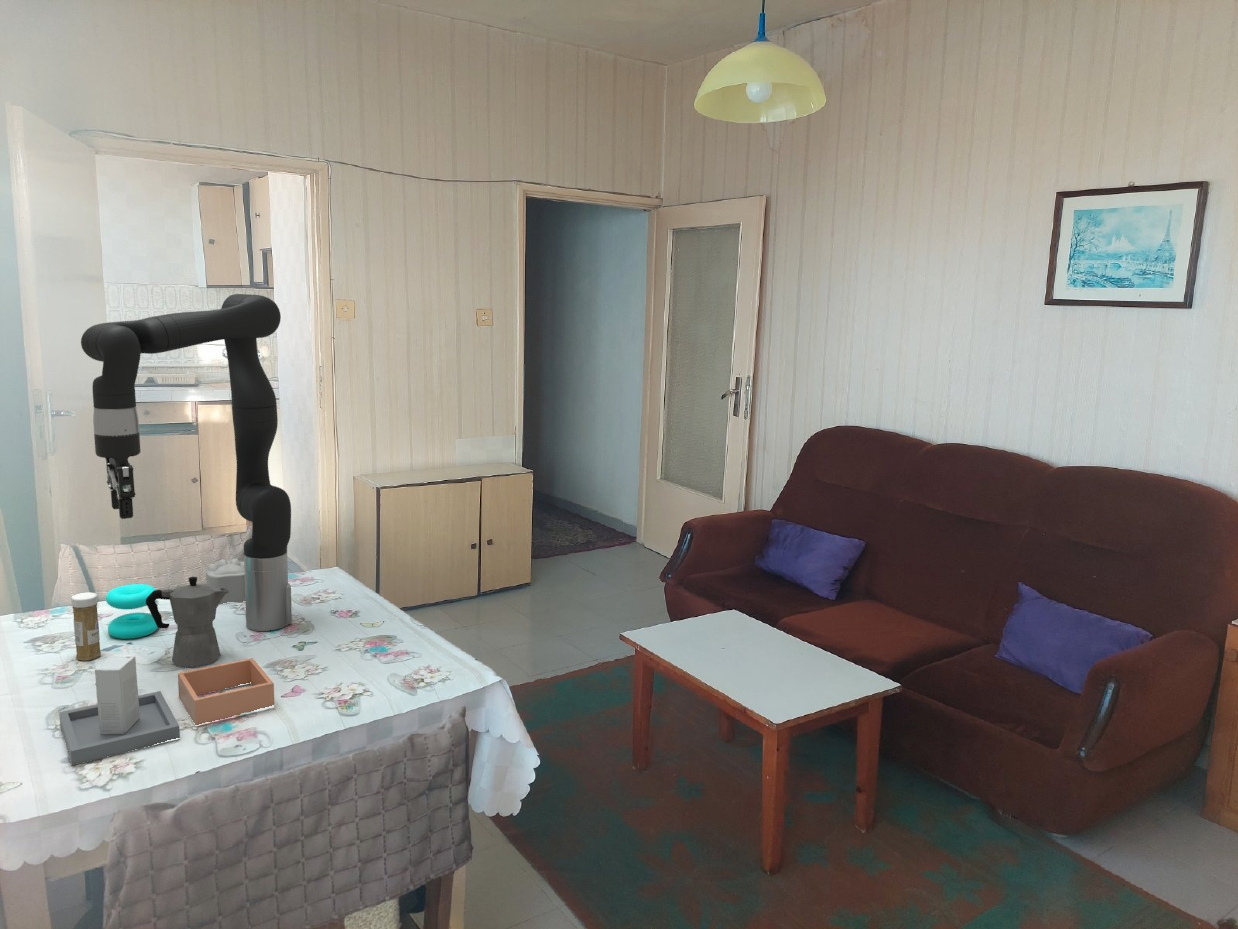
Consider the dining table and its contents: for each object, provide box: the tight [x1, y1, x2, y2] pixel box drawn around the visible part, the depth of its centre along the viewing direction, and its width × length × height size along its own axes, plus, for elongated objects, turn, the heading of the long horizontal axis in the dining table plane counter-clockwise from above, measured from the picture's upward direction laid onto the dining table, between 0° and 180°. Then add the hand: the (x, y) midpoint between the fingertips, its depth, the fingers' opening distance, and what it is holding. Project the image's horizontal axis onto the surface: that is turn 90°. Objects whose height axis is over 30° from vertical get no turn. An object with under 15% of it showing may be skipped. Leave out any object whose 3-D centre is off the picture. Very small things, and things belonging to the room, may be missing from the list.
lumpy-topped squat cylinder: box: [205, 557, 245, 605], centre depth 222 cm, size 10×13×9 cm
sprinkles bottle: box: [71, 592, 102, 662], centre depth 182 cm, size 5×5×14 cm
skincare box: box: [94, 655, 140, 734], centre depth 152 cm, size 6×4×12 cm
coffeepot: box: [146, 576, 229, 669], centre depth 182 cm, size 15×9×18 cm, turn 110°
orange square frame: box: [177, 657, 275, 726], centre depth 165 cm, size 14×14×5 cm
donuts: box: [105, 583, 159, 640], centre depth 196 cm, size 10×10×10 cm
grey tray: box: [58, 690, 181, 766], centre depth 153 cm, size 16×16×2 cm
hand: (122, 513), depth 171 cm, fingers open, 8 cm apart
